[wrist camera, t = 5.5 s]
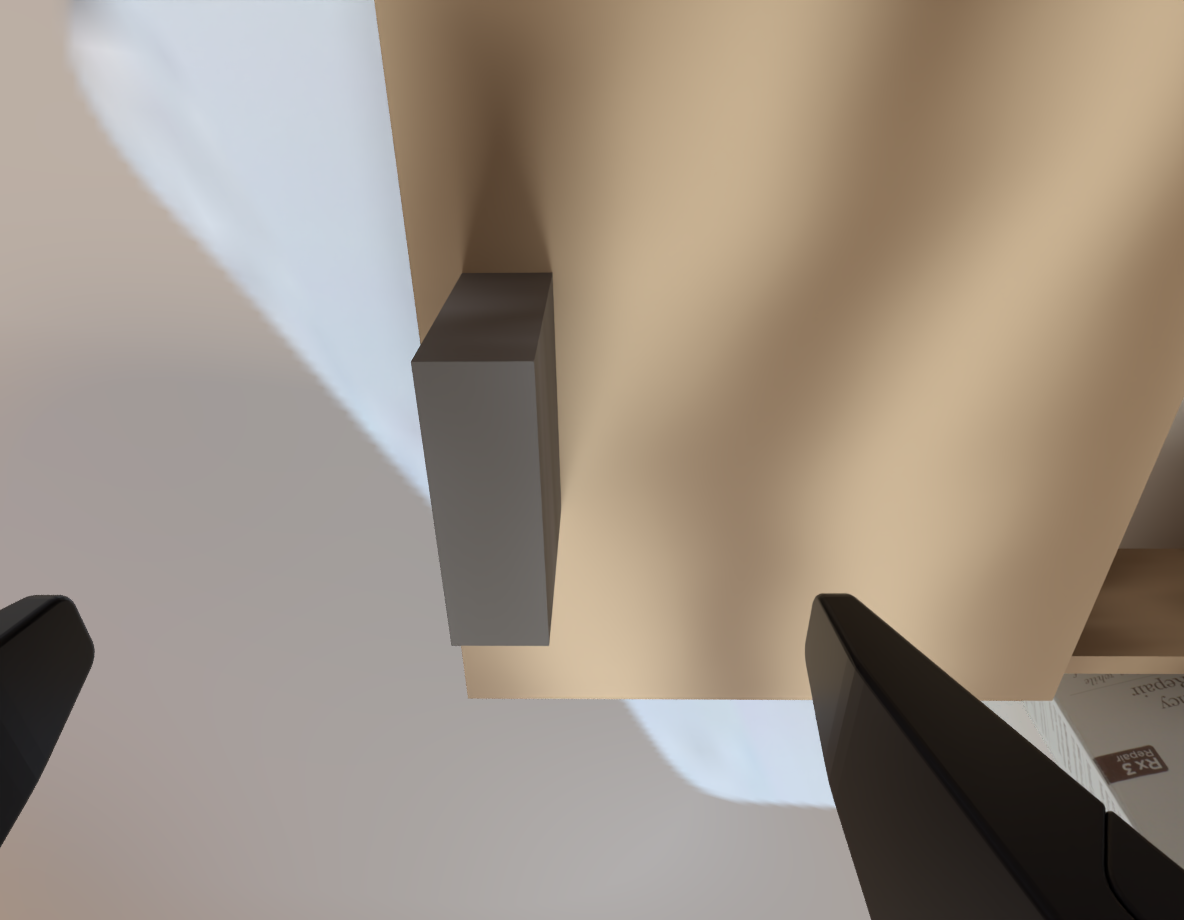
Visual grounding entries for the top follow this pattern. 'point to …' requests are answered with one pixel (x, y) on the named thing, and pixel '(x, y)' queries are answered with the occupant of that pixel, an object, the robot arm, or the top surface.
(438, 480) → the lid
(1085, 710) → the skincare box
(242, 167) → the top surface
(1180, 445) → the brown piece
